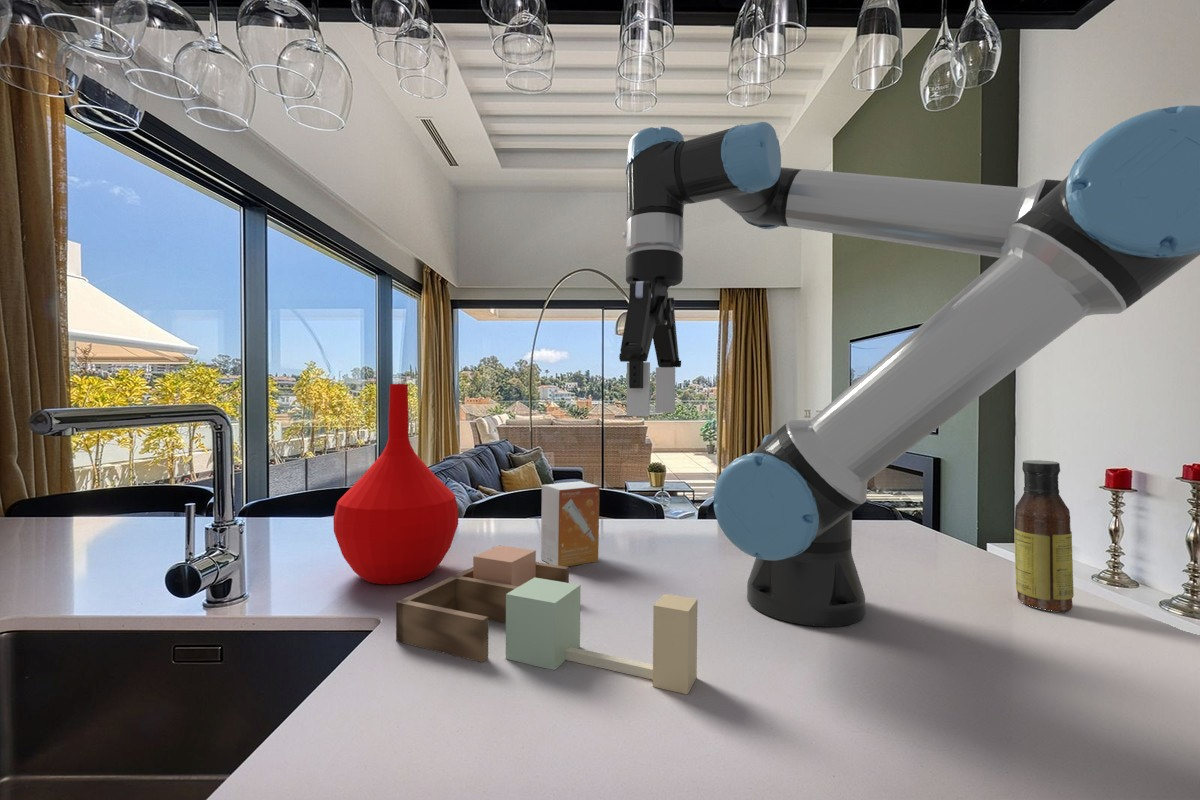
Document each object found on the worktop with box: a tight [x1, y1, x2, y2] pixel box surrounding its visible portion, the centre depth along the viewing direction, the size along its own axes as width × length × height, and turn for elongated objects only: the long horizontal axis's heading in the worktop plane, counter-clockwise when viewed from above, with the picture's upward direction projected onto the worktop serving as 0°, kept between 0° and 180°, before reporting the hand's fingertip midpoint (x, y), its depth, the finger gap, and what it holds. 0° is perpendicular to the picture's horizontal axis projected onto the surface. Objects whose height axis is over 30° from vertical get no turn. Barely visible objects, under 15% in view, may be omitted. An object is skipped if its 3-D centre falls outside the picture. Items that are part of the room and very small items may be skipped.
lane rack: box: [395, 561, 570, 663], centre depth 71 cm, size 12×20×4 cm, turn 156°
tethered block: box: [505, 577, 698, 695], centre depth 59 cm, size 20×6×8 cm, turn 66°
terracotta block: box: [472, 544, 537, 586], centre depth 76 cm, size 6×6×7 cm
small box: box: [540, 480, 600, 567], centre depth 95 cm, size 8×6×13 cm
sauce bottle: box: [1014, 459, 1075, 613], centre depth 77 cm, size 7×6×20 cm
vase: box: [332, 383, 459, 585], centre depth 87 cm, size 18×18×30 cm
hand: (652, 414), depth 74 cm, fingers open, 13 cm apart
